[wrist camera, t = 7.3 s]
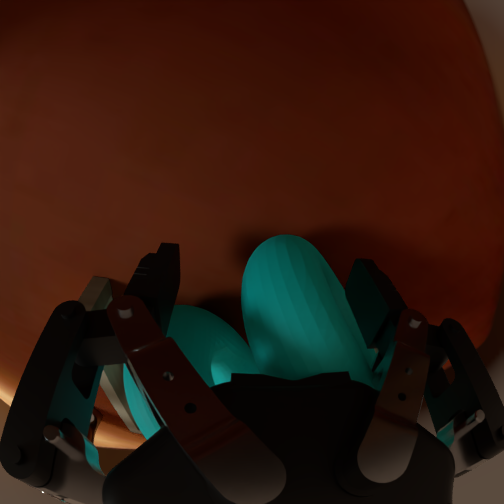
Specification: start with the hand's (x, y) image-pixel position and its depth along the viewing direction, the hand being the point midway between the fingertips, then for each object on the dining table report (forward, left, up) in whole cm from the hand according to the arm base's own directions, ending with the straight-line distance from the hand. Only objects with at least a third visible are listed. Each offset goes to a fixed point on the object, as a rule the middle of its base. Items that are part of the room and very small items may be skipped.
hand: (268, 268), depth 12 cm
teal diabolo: (+4, 0, -3) cm, 5 cm away
